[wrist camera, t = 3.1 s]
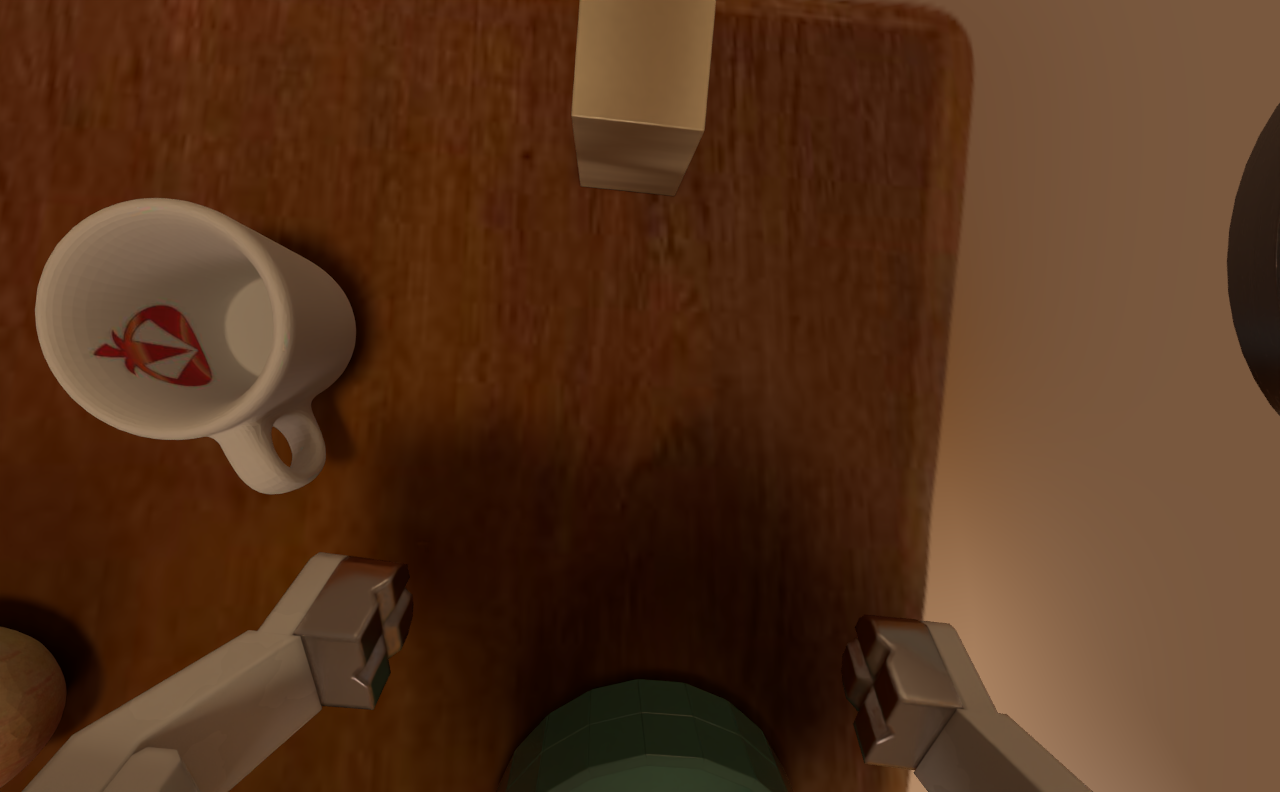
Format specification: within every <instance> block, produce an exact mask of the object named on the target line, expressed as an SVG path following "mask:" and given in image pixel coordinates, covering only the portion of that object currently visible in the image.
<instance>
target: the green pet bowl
mask: <svg viewBox="0 0 1280 792" xmlns="http://www.w3.org/2000/svg"><path fill="white" fill-rule="evenodd" d="M496 792H794V791H793V789H792V787H791V785H790V782H789V780H788V778H787V775H786V773H785V771H784V768H783V766H782V765H781V763H780V761H779V759H778V758H777V756H776V754H775V752H774V751H773V749H772V747H771V745H770V744H769V742H768V740H767V738H766V737H765V735H764V733H763V731H762V730H761V729H760V728H759V727H758V726H757V725H755V724H754V723H753V722H752V721H751V720H750V719H749V718H747V717H746V716H745V715H744V714H743V713H742V712H740V711H739V710H738V709H737V708H736V707H735V706H734V705H732V704H731V703H730V702H729V701H727V700H726V699H723V698H721V697H718V696H716V695H713V694H711V693H709V692H706V691H704V690H701V689H699V688H696V687H694V686H692V685H689V684H687V683H684V682H671V681H658V680H646V679H638V680H637V679H635V680H631V681H626V682H622V683H617V684H613V685H609V686H604V687H600V688H595V689H591V691H588V692H586V693H584V694H582V695H581V696H579V697H577V698H575V699H574V700H572V701H570V702H568V703H567V704H565V705H563V706H561V707H560V708H558V709H556V710H555V711H553V712H551V713H550V714H549V715H547V716H546V717H545V718H544V719H543V720H542V722H541V723H540V724H539V725H538V726H537V727H536V728H535V729H534V730H533V731H532V732H531V733H530V734H529V736H528V737H527V738H526V739H525V740H524V741H523V742H522V743H521V744H520V745H519V746H518V747H517V749H516V750H515V751H514V754H513V756H512V758H511V760H510V762H509V764H508V767H507V769H506V771H505V773H504V775H503V777H502V779H501V782H500V784H499V786H498V788H497V790H496Z"/></svg>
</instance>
